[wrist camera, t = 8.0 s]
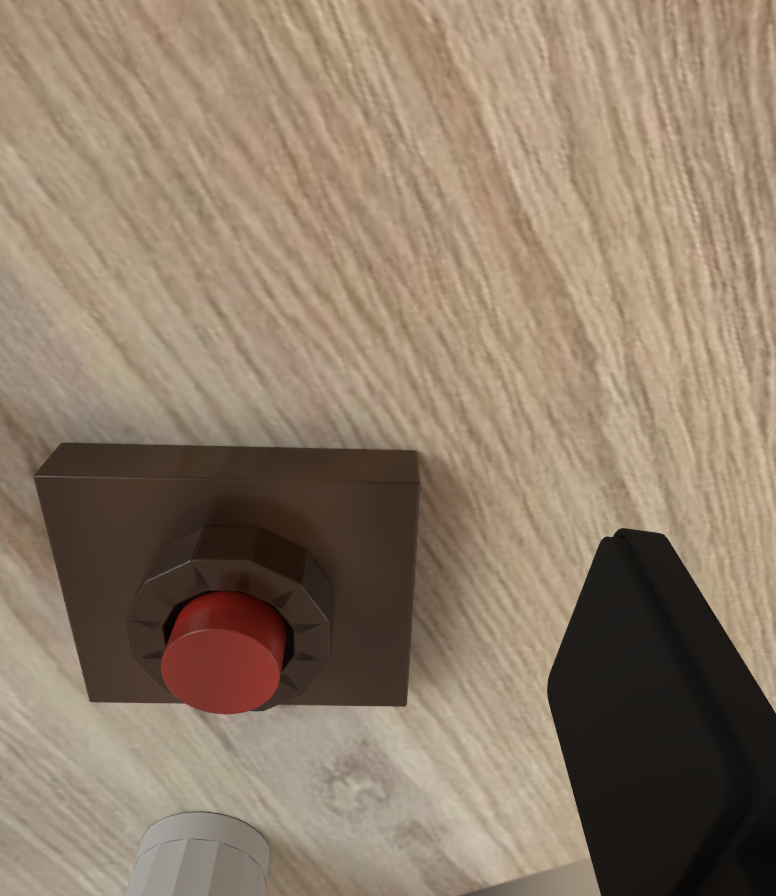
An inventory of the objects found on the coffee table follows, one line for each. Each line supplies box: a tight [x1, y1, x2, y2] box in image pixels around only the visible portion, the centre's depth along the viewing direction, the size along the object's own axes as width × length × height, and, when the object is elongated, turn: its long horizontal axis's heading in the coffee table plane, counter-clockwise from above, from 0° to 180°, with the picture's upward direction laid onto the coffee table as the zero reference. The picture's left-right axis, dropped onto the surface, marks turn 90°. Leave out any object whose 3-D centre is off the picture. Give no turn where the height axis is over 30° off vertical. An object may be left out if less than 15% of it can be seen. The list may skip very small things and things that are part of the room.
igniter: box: [34, 443, 420, 711], centre depth 24 cm, size 12×10×4 cm
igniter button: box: [161, 591, 286, 714], centre depth 22 cm, size 4×4×2 cm
